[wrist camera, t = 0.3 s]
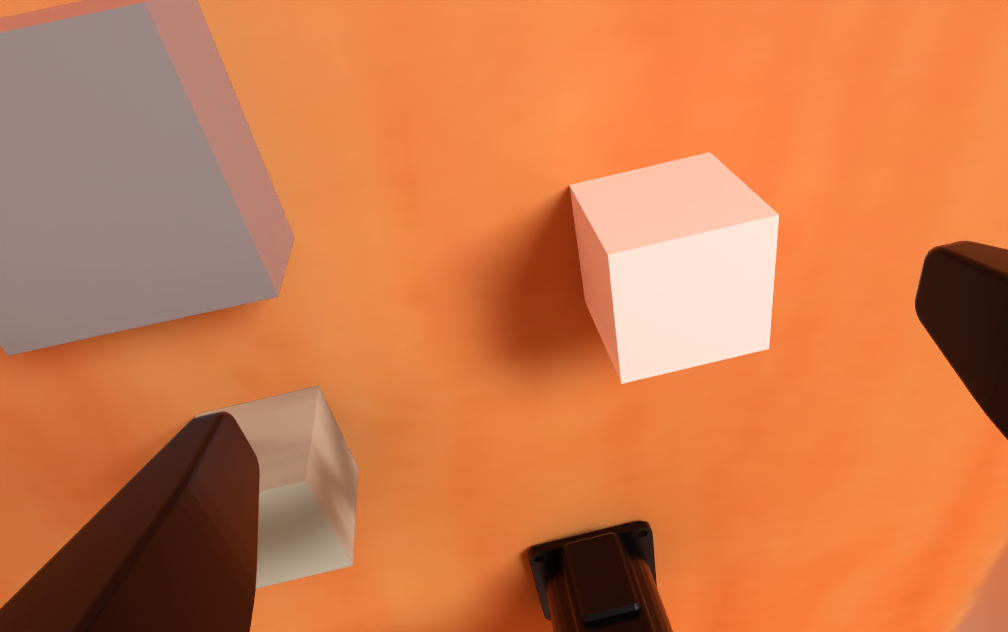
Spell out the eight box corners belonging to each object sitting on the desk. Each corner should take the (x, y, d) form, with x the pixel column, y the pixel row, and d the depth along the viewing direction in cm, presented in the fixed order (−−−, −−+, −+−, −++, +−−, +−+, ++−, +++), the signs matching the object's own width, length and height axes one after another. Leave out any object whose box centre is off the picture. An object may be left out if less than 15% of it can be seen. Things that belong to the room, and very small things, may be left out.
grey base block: (295, 233, 22) (278, 296, 19) (64, 283, 22) (8, 355, 19) (191, -23, 18) (144, 1, 14) (-101, 39, 17) (-214, 78, 14)
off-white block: (708, 271, 25) (768, 348, 21) (584, 300, 25) (621, 383, 21) (709, 151, 22) (778, 215, 18) (568, 184, 22) (608, 254, 18)
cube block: (358, 466, 29) (352, 565, 25) (248, 492, 29) (224, 596, 25) (319, 383, 26) (305, 480, 22) (196, 413, 26) (159, 515, 22)
